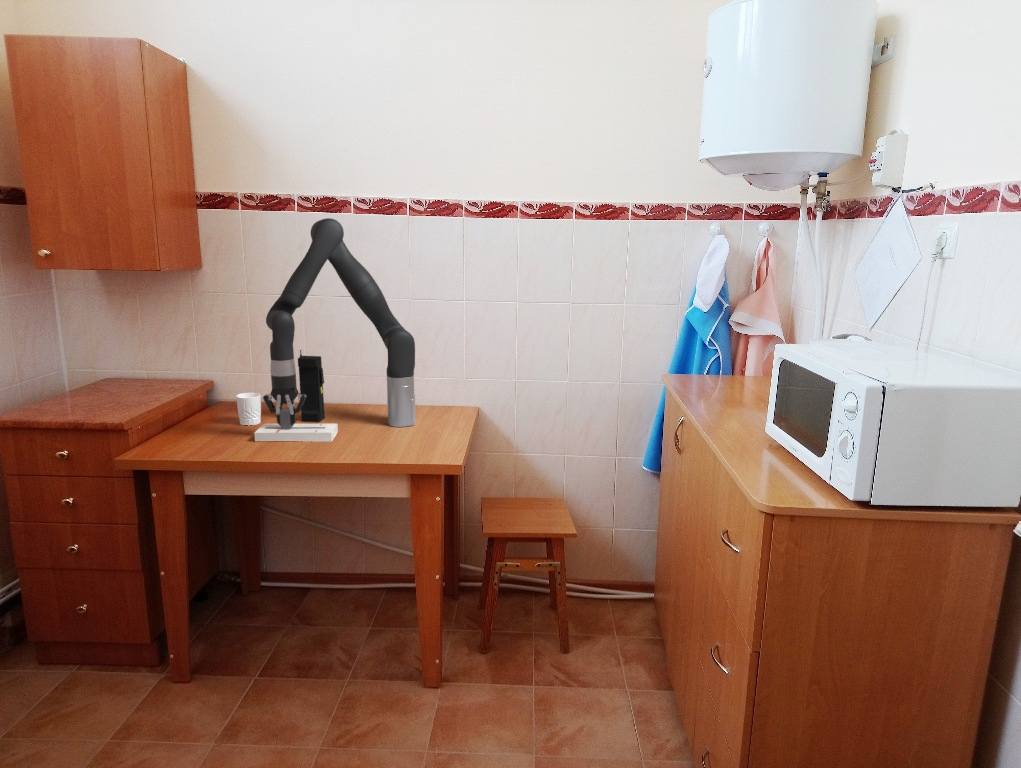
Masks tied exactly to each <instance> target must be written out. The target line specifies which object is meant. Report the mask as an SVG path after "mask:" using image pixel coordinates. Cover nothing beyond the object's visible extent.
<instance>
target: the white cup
mask: <svg viewBox="0 0 1021 768" xmlns="http://www.w3.org/2000/svg"><path fill="white" fill-rule="evenodd" d="M261 395H262V394H261V393H259V392H242V393H238V394H236V395H235V398H236V405H237V407H236V408H237V412H238V419H239V424H240V425H241V426H244V425H248V426H247V427H249V426H250V425H252V426H256V425H259V424H261V421H262V420H261V417H262V416H261V415H262V396H261Z"/></svg>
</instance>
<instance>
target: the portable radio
mask: <svg viewBox="0 0 1021 768" xmlns="http://www.w3.org/2000/svg"><path fill="white" fill-rule="evenodd" d="M299 351H300V352H299V353H300V354H299V357H297V365H298V366H297V367H298V374H299V376H298V377H299V378H298V379H299V393H301V394H306V395H307V396H306V399H305V401H304V404H303V406H302V409H301V411H300V416H301V417H300V418H301V422H302V423H303V422H307V423H319V422H322V421H323V420H324V419H325V417H326V414H325V404H324V403H325V401H324V398H325V397H324V384H325V378H324V370H323V369H324V368H323V366H322V356H321V355H303V354H302V351H303V350H301V349H300V350H299Z"/></svg>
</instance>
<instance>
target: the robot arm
mask: <svg viewBox="0 0 1021 768" xmlns="http://www.w3.org/2000/svg"><path fill="white" fill-rule="evenodd" d="M344 232H345V231H344V227H343V226H342V223H340V222H339V221H338V220H337V219H335V218H330V217H328V218H322V219H319V220H317V221H316V222H314V223H313V224H312V226H311V228H310V239H311V243H310V246H309V248H308V250H307V251H306V253H305V255H304V257H303V259H302V260H301V261H300V263H299V264H298V266H297V267H296V268H295V270H294V272H293V273H292V274H291V275H290V277H289V279H288V280H287V282H286V284H285V286H284V288H283V290H282V292H281V294H280V296H279V297H278V298H277V300H275V302H274V303H273V305H272V306H271V307H270V309H269V311H268V313H267V315H266V317H265V323H266V325H267V327H268V328H269V329H270V330H271V332H272V337H271V338H272V341H271V342H270V345H269V355H270V369H269V370H270V379H271V380H270V381H271V391H270V392H269V393H265V394H264V395H263V397H262V399H263V401H264V403H265V405H266V406H267V408H268V410H269V413H271V414H275V415H276V424H279V426H281V424H280V410H281V409H282V408H283V406H284V405H287V408H289V410H290V423H291V426H293V425H294V424H297V423H296V422H297V415H296V414H299V413H301V409H302V406H303V404H304V401H305V399H306V396H307V395H306V394H301V393H300V391H299V390H298V388H297V374H296V373H297V371H296V362H295V355H294V353H295V352H294V339H295V331H296V329H295V328H296V327H295V320H294V317H293V315H294V313H295V312H296V310H297V309H299V308H301V307H302V305H303V304H304V302H305V300H306V299H307V297H308V295H309V293H310V292H311V290H312V287H313V285H314V284H315V282H316V279H317V278H318V276H319V275H320V272H321V271H322V268H323V267H324V265H325V264H326V263H327V261H329V263H330V264H331V266H332V267H333V269H334V271H335V272H336V274H337V275H338V277H339V279H340V281H341V282H342V284H343V285H344V287H345V289H346V290H347V291H348V293H349V295H350V297H351V298H352V299H353V301H354V302H355V304H356V305H357V306H358V308H359V309H360V310H361V311H362V313H363V314H364V315H365V316H366V317H367V318H368V319H369V320H370V322H371V323H372V324H373V326H374V327H375V329H376V331H377V332H378V335H379V336H380V338H381V340H382V342H383V344H384V346H385V348H386V350H387V367H386V393H387V395H386V399H387V400H386V401H387V404H386V405H387V424H388V426H391V427H395V428H406V427H410V426H411V427H412V426H415V424H416V394H415V372H414V371H415V367H416V343H415V339H414V337H413V335H412V334H411V333H410V332H409V331H408V330H406V328H405V327H403V326H402V324H401V323H400V322H399V320H398V319H397V318H396V317H395V316H394V313H392V311H391V309H390V307H389V304H388V301H387V300H386V298H385V296H384V294H383V291H382V290H381V288H380V287H379V285H378V283H377V282H376V281H375V278H374V277H373V276H372V275H371V273H370V271H368V270H367V269H366V268H365V267H364V266H363V264H361V262H360V261H358V259H356V257H354V255H353V254H352V253H351V251H350V250H349V248H348V246H347V245H346V243H345V241H344V235H345V233H344ZM296 398H297V400H298V401H299V402H298V404H297V406H296V404H295V400H296ZM273 399H274V400H275V402H276V403H275V404H276V405H275V404H274V403H273V402H274V401H272V400H273Z"/></svg>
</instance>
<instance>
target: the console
mask: <svg viewBox="0 0 1021 768" xmlns="http://www.w3.org/2000/svg"><path fill="white" fill-rule="evenodd" d="M338 429H339V427H338V423H322V422H321V423H295V424H294V425H293V427H292V428H291V429H281V426H279V424H278V423H263V424H262V425H261V426H259V428H258V429H257V430H256V431H254V441H299V442H300V441H303V442H304V443H305V442H306V443H307V442H311V441H312V442H314V443H315V442H318V443H321V442H322V443H323V442H327V443H328V442H330V443H331V442H333V440H334V439H335V437H336V436H337V434H338V433H339V431H338ZM299 442H298V443H299ZM303 442H302V443H303Z"/></svg>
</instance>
